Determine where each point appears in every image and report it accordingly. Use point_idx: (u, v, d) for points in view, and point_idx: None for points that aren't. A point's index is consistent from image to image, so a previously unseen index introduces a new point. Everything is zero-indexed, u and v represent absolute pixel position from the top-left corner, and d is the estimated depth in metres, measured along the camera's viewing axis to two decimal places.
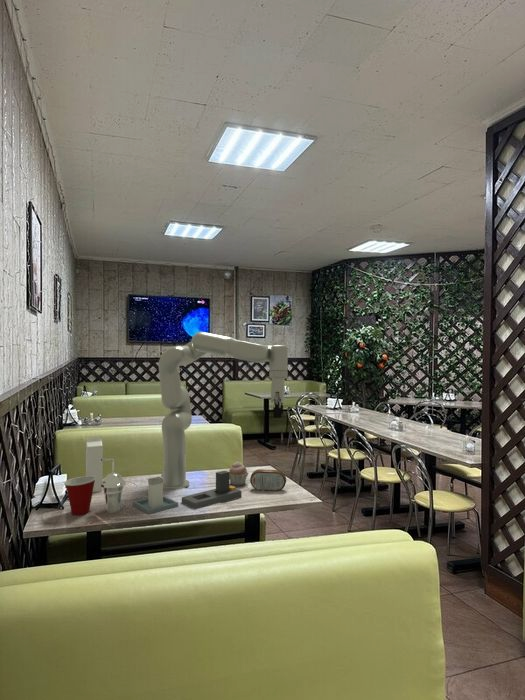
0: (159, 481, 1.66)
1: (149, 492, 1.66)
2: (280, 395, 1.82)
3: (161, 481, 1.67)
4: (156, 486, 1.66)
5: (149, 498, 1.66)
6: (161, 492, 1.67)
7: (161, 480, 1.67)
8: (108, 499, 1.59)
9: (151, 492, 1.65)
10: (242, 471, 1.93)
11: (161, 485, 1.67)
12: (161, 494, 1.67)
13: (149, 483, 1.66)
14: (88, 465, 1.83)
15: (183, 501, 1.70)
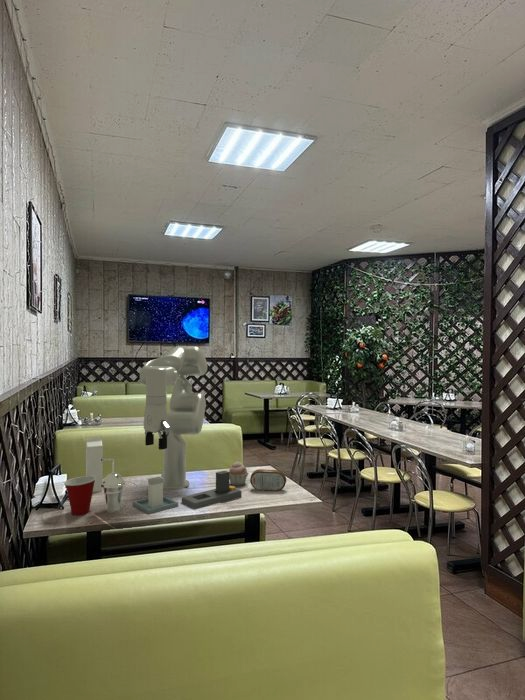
0: (159, 481, 1.66)
1: (149, 492, 1.66)
2: None
3: (161, 481, 1.67)
4: (156, 486, 1.66)
5: (149, 498, 1.66)
6: (161, 492, 1.67)
7: (161, 480, 1.67)
8: (108, 499, 1.59)
9: (151, 492, 1.65)
10: (242, 471, 1.93)
11: (161, 485, 1.67)
12: (161, 494, 1.67)
13: (149, 483, 1.66)
14: (88, 465, 1.83)
15: (183, 501, 1.70)
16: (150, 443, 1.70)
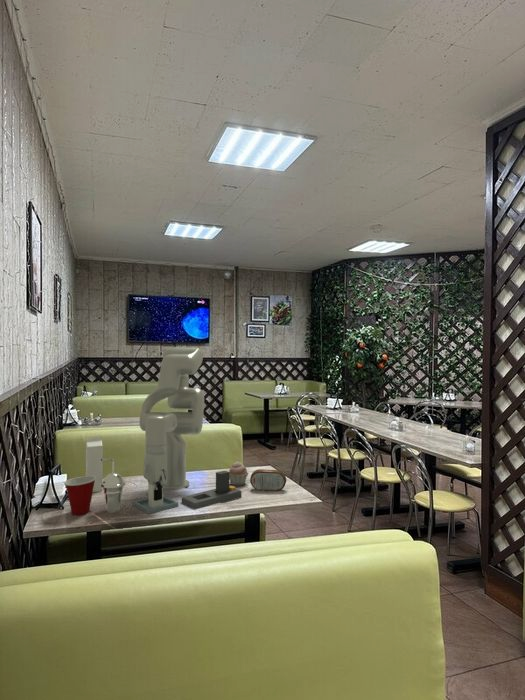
0: None
1: (149, 492, 1.66)
2: (165, 473, 1.64)
3: None
4: None
5: (150, 498, 1.66)
6: None
7: None
8: (108, 499, 1.59)
9: (151, 492, 1.65)
10: (242, 471, 1.93)
11: None
12: None
13: (149, 483, 1.66)
14: (88, 465, 1.83)
15: (183, 501, 1.70)
16: None
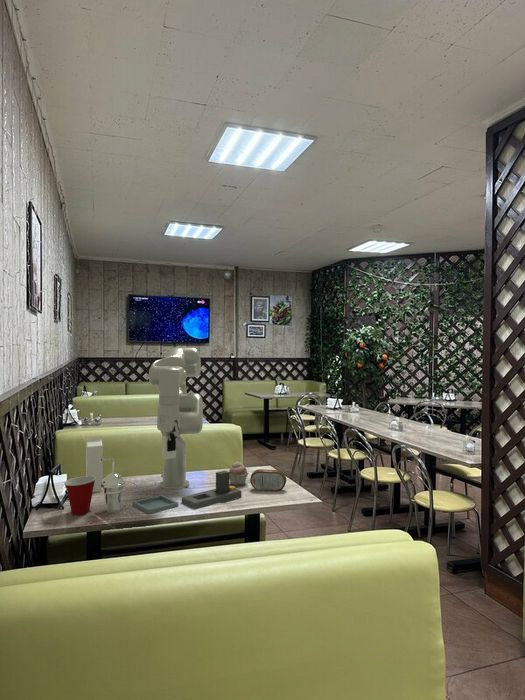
0: (172, 433, 1.68)
1: (162, 444, 1.67)
2: (178, 424, 1.65)
3: None
4: None
5: (163, 450, 1.67)
6: None
7: None
8: (108, 499, 1.59)
9: (165, 443, 1.66)
10: (242, 471, 1.93)
11: None
12: None
13: (163, 435, 1.67)
14: (88, 465, 1.83)
15: (183, 501, 1.70)
16: None
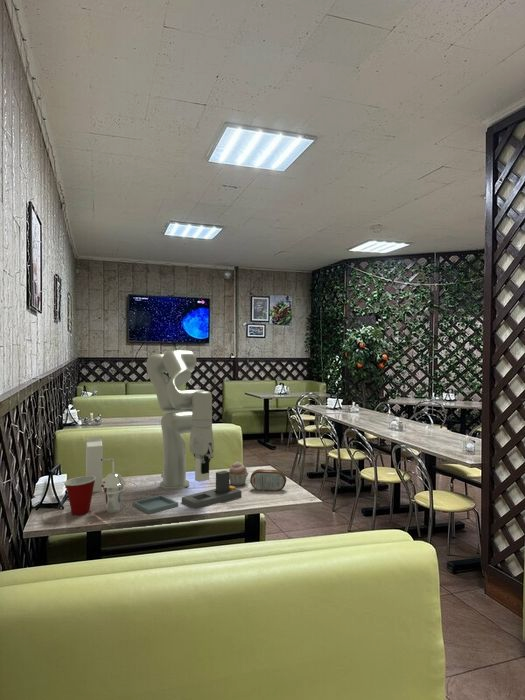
0: (206, 456, 1.70)
1: (196, 466, 1.70)
2: (212, 446, 1.68)
3: None
4: None
5: (196, 472, 1.69)
6: None
7: None
8: (108, 499, 1.59)
9: (199, 466, 1.68)
10: (242, 471, 1.93)
11: None
12: None
13: (196, 457, 1.70)
14: (88, 465, 1.83)
15: (183, 501, 1.70)
16: None
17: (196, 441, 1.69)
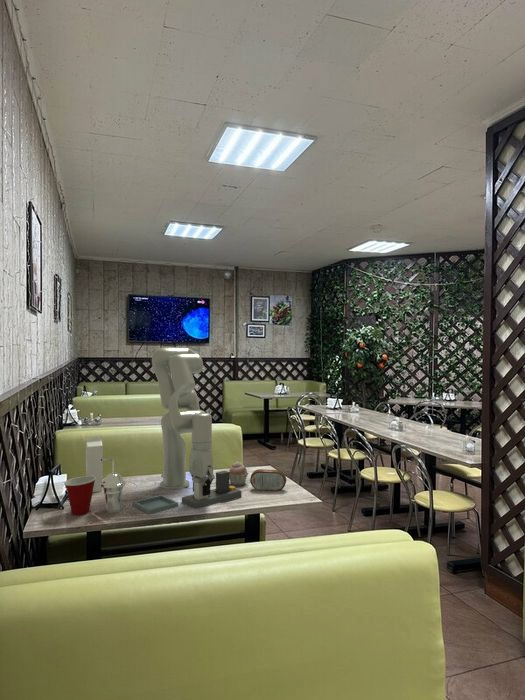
0: None
1: (195, 490, 1.70)
2: (212, 469, 1.68)
3: (206, 479, 1.71)
4: (202, 484, 1.70)
5: (195, 496, 1.70)
6: None
7: (206, 478, 1.71)
8: (108, 499, 1.59)
9: (197, 490, 1.69)
10: (242, 471, 1.93)
11: None
12: None
13: (195, 481, 1.70)
14: (88, 465, 1.83)
15: (183, 501, 1.70)
16: None
17: (196, 463, 1.69)
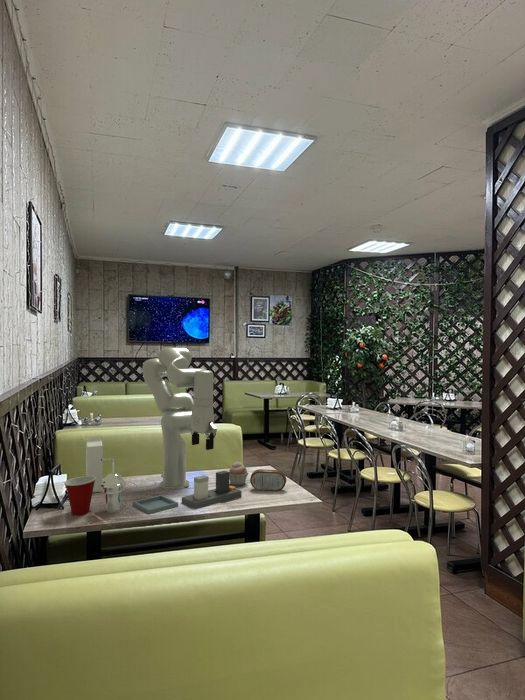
0: (205, 479, 1.71)
1: (195, 490, 1.70)
2: (212, 425, 1.70)
3: (206, 479, 1.71)
4: (202, 484, 1.70)
5: (195, 496, 1.70)
6: (206, 490, 1.71)
7: (206, 478, 1.71)
8: (108, 499, 1.59)
9: (198, 490, 1.69)
10: (242, 471, 1.93)
11: (206, 483, 1.71)
12: (206, 492, 1.71)
13: (195, 481, 1.70)
14: (88, 465, 1.83)
15: (183, 501, 1.70)
16: (196, 443, 1.77)
17: (197, 419, 1.71)
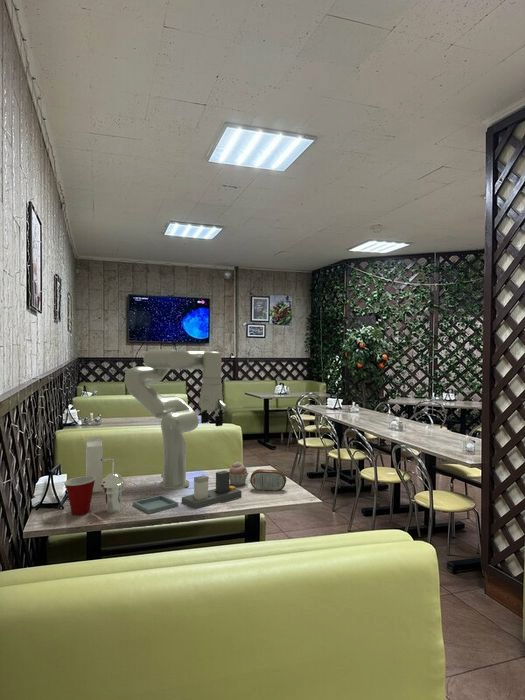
0: (205, 479, 1.71)
1: (195, 490, 1.70)
2: None
3: (206, 479, 1.71)
4: (202, 484, 1.70)
5: (195, 496, 1.70)
6: (206, 490, 1.71)
7: (206, 478, 1.71)
8: (108, 499, 1.59)
9: (198, 490, 1.69)
10: (242, 471, 1.93)
11: (206, 483, 1.71)
12: (206, 492, 1.71)
13: (195, 481, 1.70)
14: (88, 465, 1.83)
15: (183, 501, 1.70)
16: (205, 421, 1.85)
17: (206, 398, 1.80)
